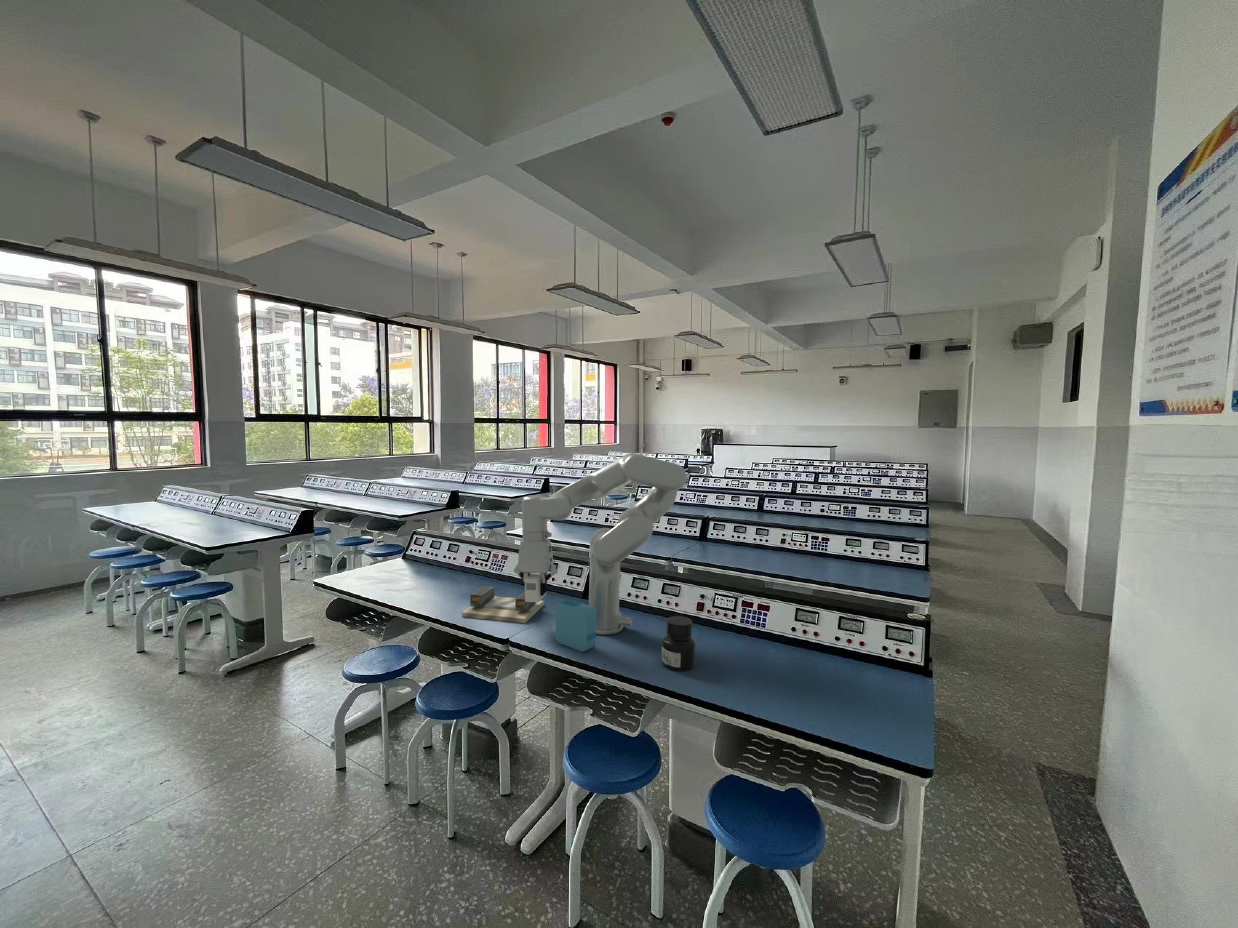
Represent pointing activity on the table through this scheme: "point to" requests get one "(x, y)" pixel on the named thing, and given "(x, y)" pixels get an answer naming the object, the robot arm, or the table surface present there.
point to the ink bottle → (678, 644)
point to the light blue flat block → (576, 625)
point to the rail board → (500, 607)
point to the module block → (533, 588)
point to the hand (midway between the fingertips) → (535, 593)
